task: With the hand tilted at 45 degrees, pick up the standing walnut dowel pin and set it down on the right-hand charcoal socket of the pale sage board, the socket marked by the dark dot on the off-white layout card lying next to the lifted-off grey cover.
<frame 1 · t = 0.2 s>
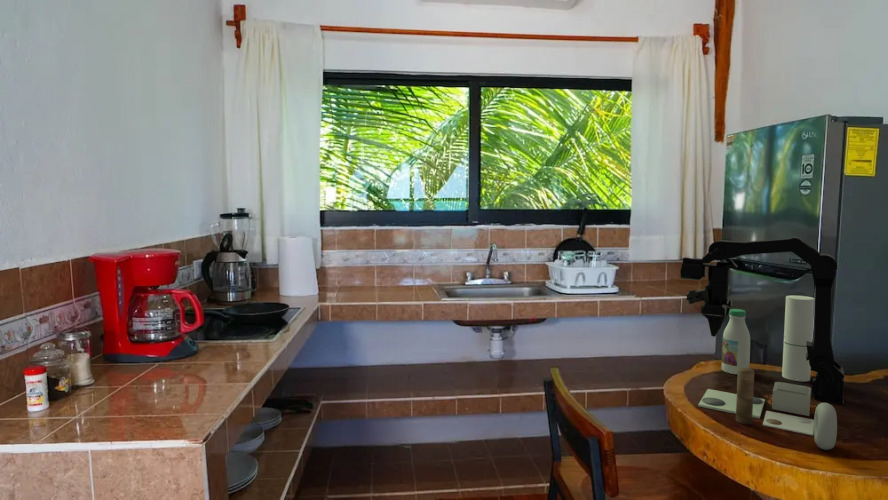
hand: (715, 333, 157), 15 cm above the table, tool pointing down, fingers open, 9 cm apart
pin: (743, 421, 128), on the table
donut: (823, 448, 114), on the table
milk bottle: (735, 372, 166), on the table
board: (731, 403, 140), on the table
layout card: (788, 423, 127), on the table
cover: (791, 407, 137), on the table
cylindrical container: (795, 378, 160), on the table
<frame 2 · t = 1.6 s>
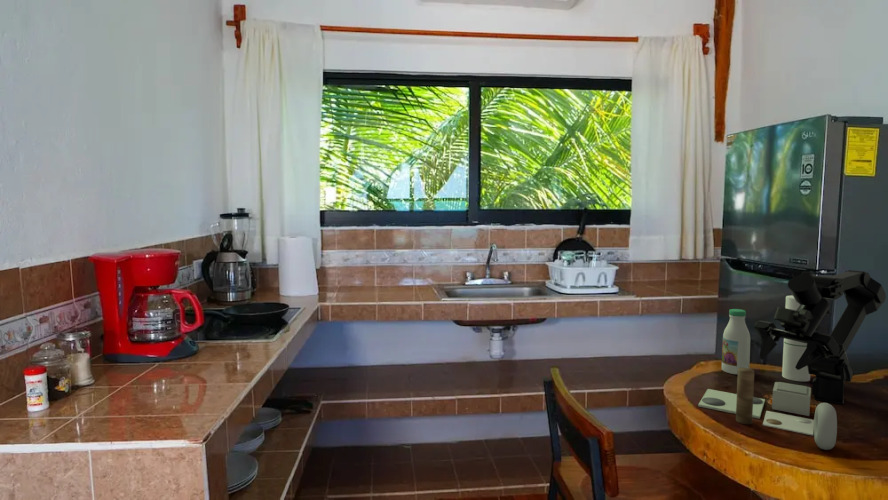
hand: (778, 363, 131), 13 cm above the table, tool tilted 45°, fingers open, 9 cm apart
nothing on the table moved.
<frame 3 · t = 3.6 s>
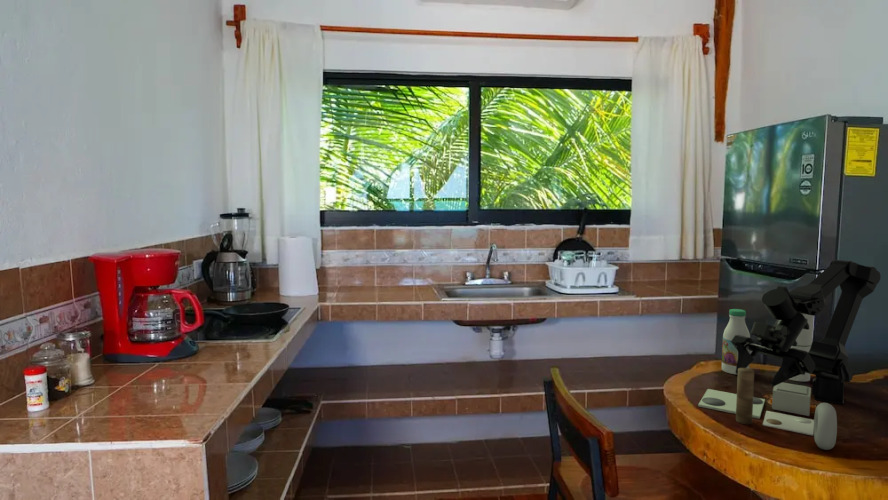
hand: (754, 379, 129), 10 cm above the table, tool tilted 45°, fingers open, 9 cm apart
nothing on the table moved.
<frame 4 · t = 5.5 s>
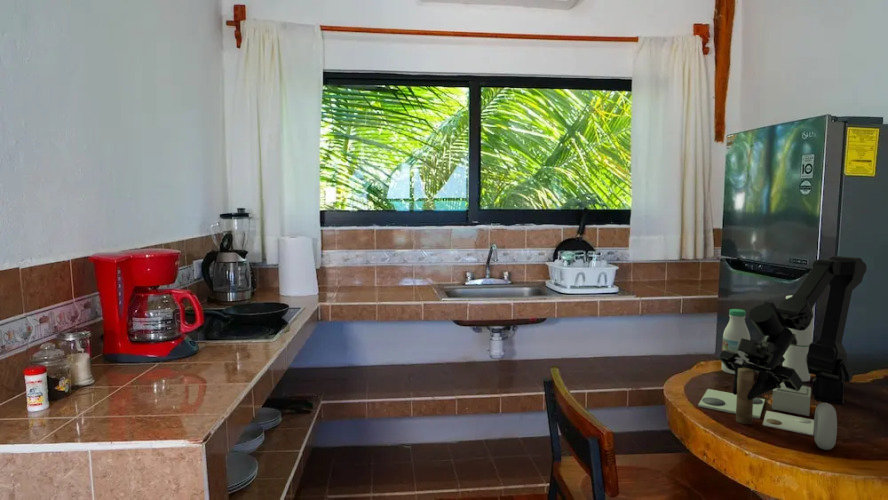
hand: (741, 396, 127), 7 cm above the table, tool tilted 45°, fingers closed on pin, 3 cm apart
pin: (743, 421, 128), on the table, touching gripper
everything else where it was.
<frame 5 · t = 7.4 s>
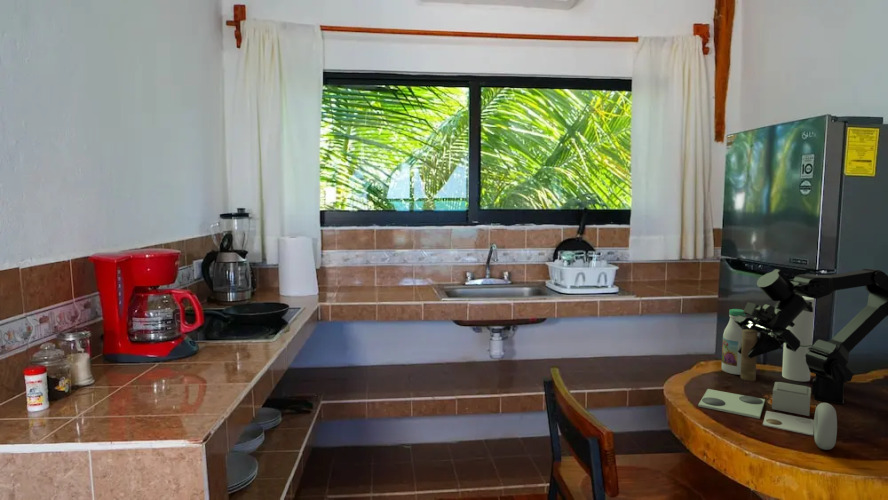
hand: (743, 354, 139), 13 cm above the table, tool tilted 45°, fingers closed on pin, 3 cm apart
pin: (748, 378, 140), point 7 cm above the table, touching gripper
everything else where it was.
when the fingers open (8 cm above the table, at t = 9.7 s): pin stays where it is, resting on board.
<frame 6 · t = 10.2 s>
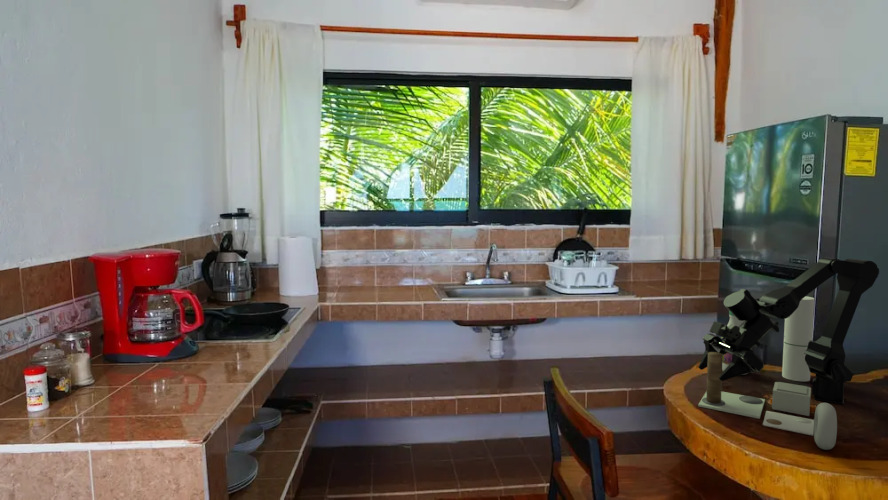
hand: (709, 374, 139), 8 cm above the table, tool tilted 45°, fingers open, 9 cm apart
pin: (713, 401, 139), point 1 cm above the table, touching board
everything else where it was.
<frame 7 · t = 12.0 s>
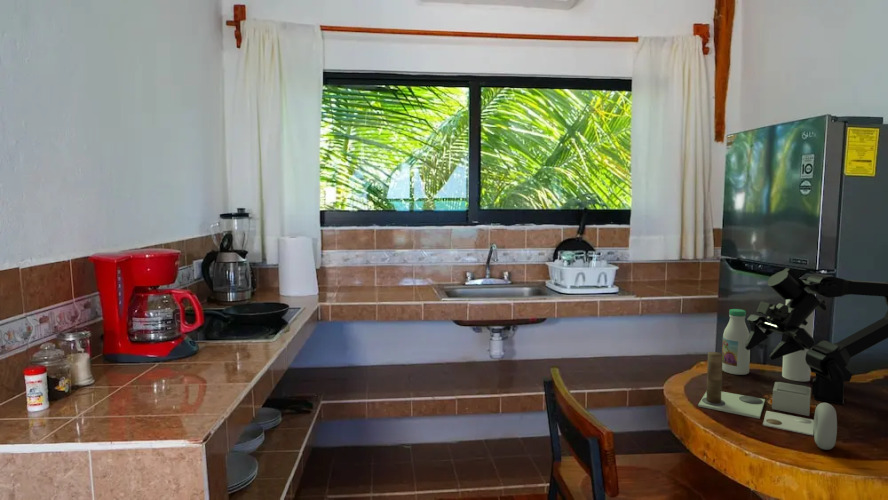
hand: (758, 353, 140), 13 cm above the table, tool tilted 45°, fingers open, 9 cm apart
nothing on the table moved.
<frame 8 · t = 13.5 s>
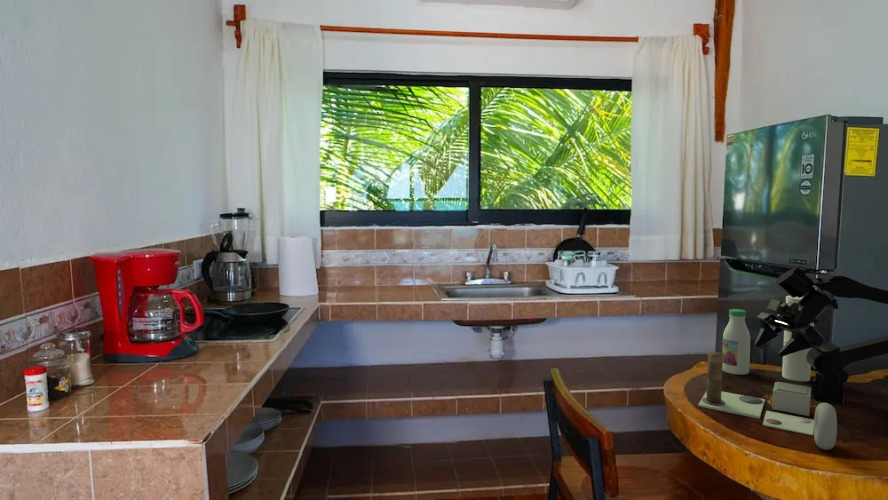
hand: (767, 350, 142), 14 cm above the table, tool tilted 45°, fingers open, 9 cm apart
nothing on the table moved.
at the end: pin 0.0 cm from the target spot on the board, point 0.8 cm above the board's base; pin tilted 0°; the gripper is holding nothing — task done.
